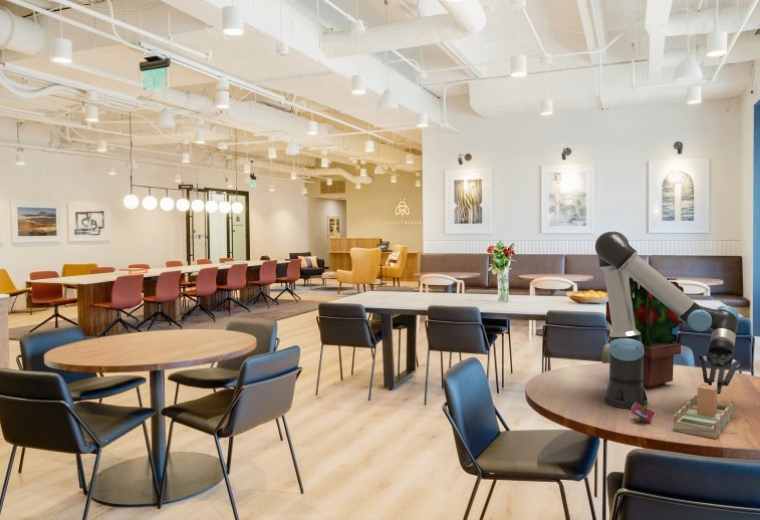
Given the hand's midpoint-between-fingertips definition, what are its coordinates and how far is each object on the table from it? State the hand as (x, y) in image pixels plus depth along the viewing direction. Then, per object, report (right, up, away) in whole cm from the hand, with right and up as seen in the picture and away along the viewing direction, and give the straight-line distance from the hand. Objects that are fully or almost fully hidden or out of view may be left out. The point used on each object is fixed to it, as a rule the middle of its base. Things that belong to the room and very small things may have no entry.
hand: (712, 400), depth 198 cm
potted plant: (-1, -5, +48) cm, 48 cm away
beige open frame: (-4, -7, -3) cm, 8 cm away
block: (-3, -4, -2) cm, 5 cm away
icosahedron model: (-24, -7, -1) cm, 25 cm away
